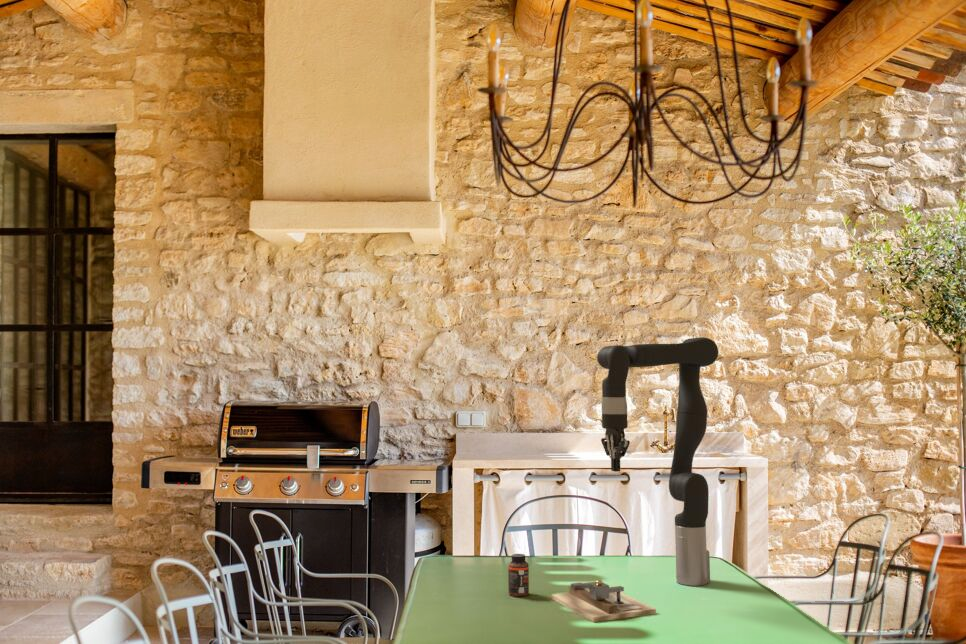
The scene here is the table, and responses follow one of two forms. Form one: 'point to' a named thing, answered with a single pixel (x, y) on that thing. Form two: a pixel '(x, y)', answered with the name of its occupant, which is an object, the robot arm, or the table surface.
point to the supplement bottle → (518, 576)
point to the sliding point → (603, 590)
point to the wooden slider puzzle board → (602, 605)
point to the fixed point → (580, 585)
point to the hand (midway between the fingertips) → (615, 471)
